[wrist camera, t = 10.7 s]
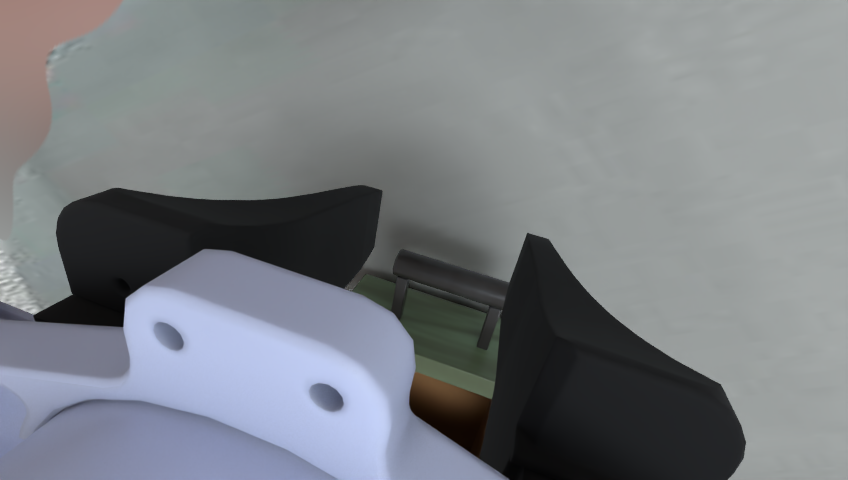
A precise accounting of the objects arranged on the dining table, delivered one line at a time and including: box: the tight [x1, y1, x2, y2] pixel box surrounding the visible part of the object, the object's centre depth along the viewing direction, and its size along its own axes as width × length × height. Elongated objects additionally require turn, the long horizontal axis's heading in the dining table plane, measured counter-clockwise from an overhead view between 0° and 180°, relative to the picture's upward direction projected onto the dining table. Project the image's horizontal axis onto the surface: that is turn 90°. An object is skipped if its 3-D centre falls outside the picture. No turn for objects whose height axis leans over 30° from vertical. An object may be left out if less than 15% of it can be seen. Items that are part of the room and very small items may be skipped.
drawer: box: [352, 249, 509, 458], centre depth 25 cm, size 18×11×5 cm, turn 169°
